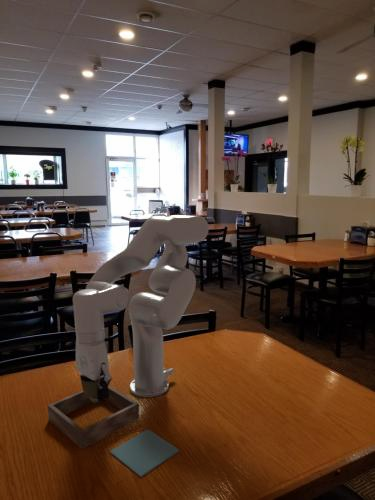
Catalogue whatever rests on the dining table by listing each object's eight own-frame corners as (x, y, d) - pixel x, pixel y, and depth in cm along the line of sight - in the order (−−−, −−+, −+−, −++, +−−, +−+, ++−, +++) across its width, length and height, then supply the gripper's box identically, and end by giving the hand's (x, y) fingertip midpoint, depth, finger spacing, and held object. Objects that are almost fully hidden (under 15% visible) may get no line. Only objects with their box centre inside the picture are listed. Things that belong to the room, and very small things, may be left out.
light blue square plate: (147, 430, 102) (147, 429, 102) (179, 451, 94) (179, 449, 94) (109, 452, 94) (109, 451, 94) (141, 477, 86) (140, 475, 85)
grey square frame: (103, 395, 120) (102, 381, 120) (139, 418, 108) (138, 403, 107) (48, 420, 108) (47, 405, 107) (82, 449, 95) (81, 432, 94)
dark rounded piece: (103, 408, 103) (100, 381, 102) (77, 406, 105) (75, 379, 103) (113, 393, 111) (111, 368, 109) (89, 391, 112) (87, 366, 111)
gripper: (62, 331, 107) (68, 389, 111) (96, 348, 96) (101, 413, 99) (85, 323, 113) (90, 379, 116) (120, 338, 101) (125, 400, 104)
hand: (95, 394), depth 107 cm, fingers closed on dark rounded piece, 6 cm apart
